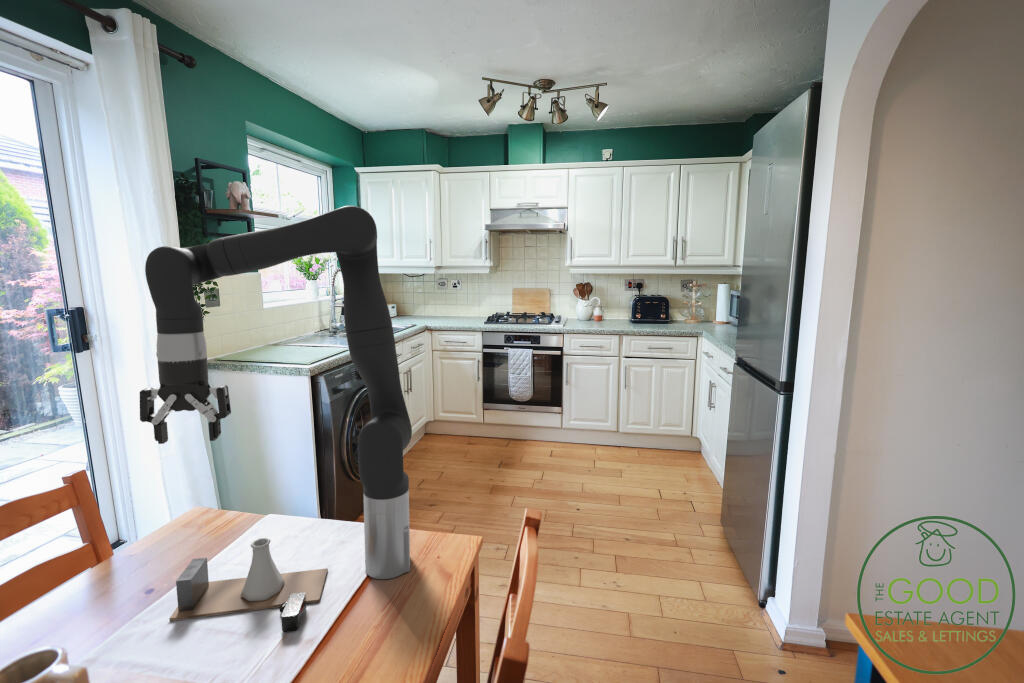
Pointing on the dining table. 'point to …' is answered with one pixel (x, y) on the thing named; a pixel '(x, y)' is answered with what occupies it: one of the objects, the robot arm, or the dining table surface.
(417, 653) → the dining table surface
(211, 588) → the strip
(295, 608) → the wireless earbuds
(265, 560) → the flask
